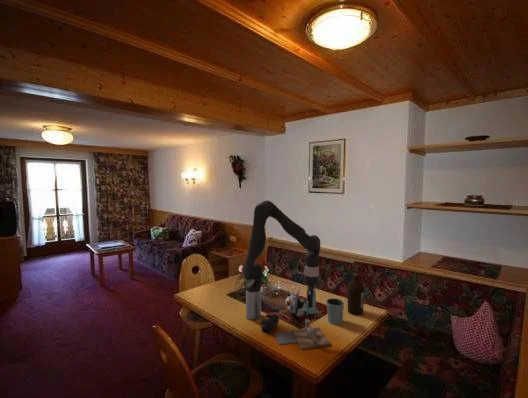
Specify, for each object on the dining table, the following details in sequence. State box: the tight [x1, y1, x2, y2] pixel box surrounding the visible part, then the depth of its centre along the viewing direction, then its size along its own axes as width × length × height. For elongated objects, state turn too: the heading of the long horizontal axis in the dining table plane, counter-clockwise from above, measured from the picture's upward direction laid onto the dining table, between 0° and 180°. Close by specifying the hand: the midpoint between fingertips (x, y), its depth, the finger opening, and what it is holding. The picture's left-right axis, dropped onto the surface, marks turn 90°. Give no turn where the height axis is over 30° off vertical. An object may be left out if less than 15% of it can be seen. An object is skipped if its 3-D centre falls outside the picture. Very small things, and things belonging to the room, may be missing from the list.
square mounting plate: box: [291, 318, 332, 350], centre depth 150 cm, size 16×16×8 cm
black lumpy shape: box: [260, 313, 280, 334], centre depth 160 cm, size 10×7×7 cm
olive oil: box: [346, 272, 366, 316], centre depth 179 cm, size 11×11×25 cm
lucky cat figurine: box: [284, 292, 309, 319], centre depth 178 cm, size 15×12×14 cm
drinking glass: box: [325, 297, 345, 326], centre depth 169 cm, size 10×10×12 cm
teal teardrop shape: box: [303, 291, 320, 315], centre depth 149 cm, size 9×5×11 cm, turn 71°
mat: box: [273, 330, 298, 346], centre depth 151 cm, size 10×10×1 cm
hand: (311, 304), depth 149 cm, fingers closed on teal teardrop shape, 4 cm apart
